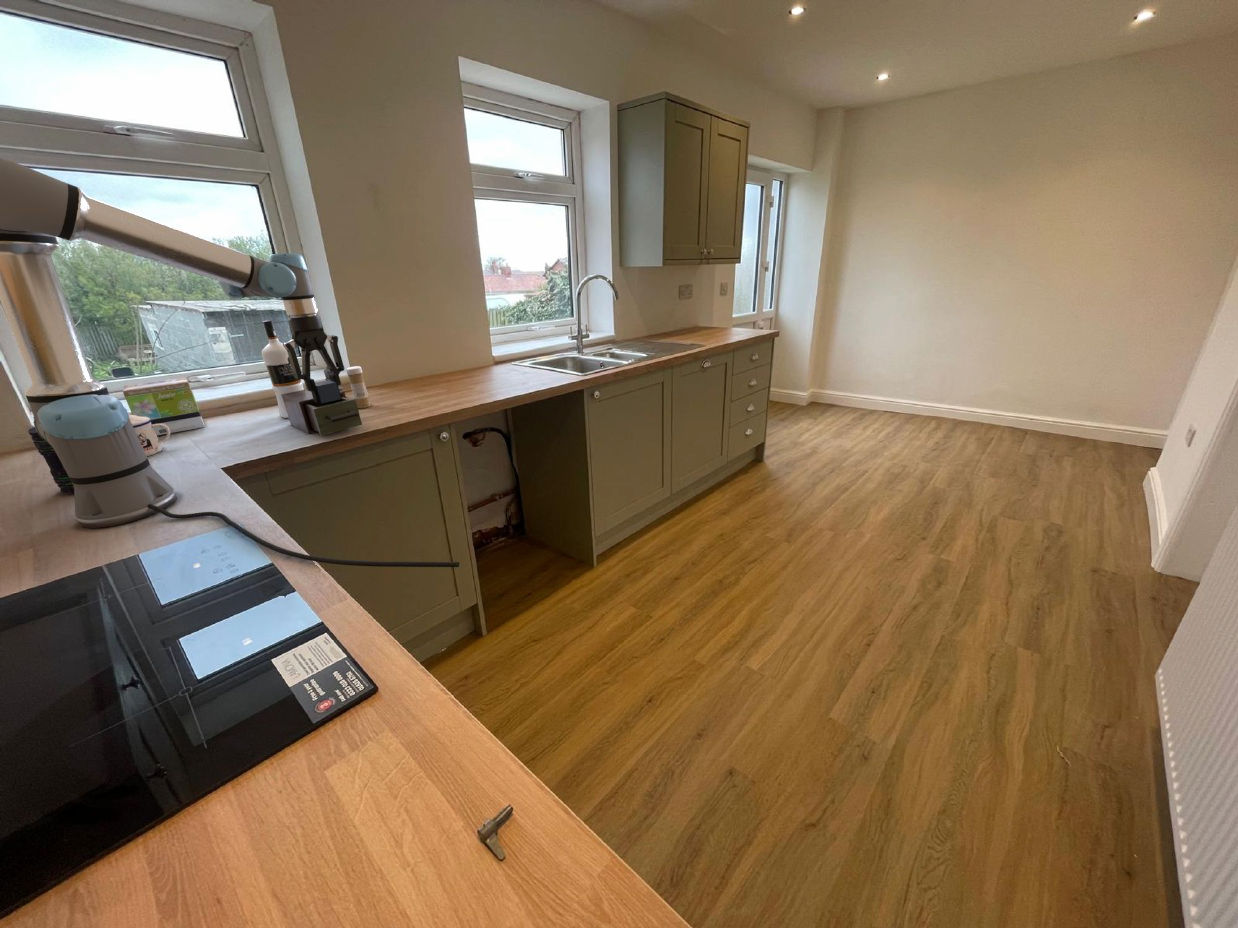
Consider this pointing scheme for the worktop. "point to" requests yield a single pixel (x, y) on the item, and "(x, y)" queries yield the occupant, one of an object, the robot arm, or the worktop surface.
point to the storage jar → (53, 463)
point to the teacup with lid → (148, 434)
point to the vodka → (279, 367)
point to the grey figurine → (328, 375)
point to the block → (327, 391)
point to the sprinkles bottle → (358, 386)
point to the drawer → (332, 415)
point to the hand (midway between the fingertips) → (327, 399)
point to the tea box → (165, 404)
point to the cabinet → (299, 408)
